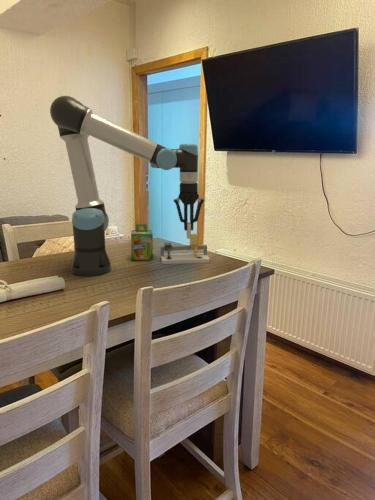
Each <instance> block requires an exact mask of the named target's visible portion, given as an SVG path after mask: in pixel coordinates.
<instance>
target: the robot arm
mask: <svg viewBox="0 0 375 500" xmlns="http://www.w3.org/2000/svg"><path fill="white" fill-rule="evenodd" d="M49 114H50V118H51V120H52V122H53V123H54V125H56V126H57V129H58V135H59V138H60V139H61V140H62V141H64V142H65V146H66V151H67V157H68V161H69V166H70V170H71V175H72V181H73V185H74V190H75V194H76V198H77V203H76V205H75V206H74V207H75V210H74V212H73V213H72V216H71V223H72V233H73V234H72V235H73V246H74V253H73V258H72V260H71V261H72V262H71V265H70V272H71V273H72V274H73V275H76V276H81V277H92V276H99V275H103V274H106V273H109V272H110V271H111V270H112V263H111V260H110V259H109V255H108V253H107V249H106V230H107V229H108V226H109V215H108V213H107V211H106V207H105V202H104V201H103V200H102V199H100V196H99V191H98V186H97V180H96V176H95V171H94V165H93V160H92V155H91V151H90V144H89V141H88V139H89V136H90V137H93V138H95V139H97V140H99V141H101V142H104V143H106V144H109V145H111V146H112V147H115V148H116V149H119V150H121V151H124V152H125V153H128V154H130V155H132V156H134V157H137V158H138V159H141V160H143V161H145V162H147V163H149V164H150V167H151V168H153V169H162V170H163V171H169V170H172V169H173V168H174V169H175V168H176V169H178V168H179V182H180V183H179V194H178V197H176V198H174V199H173V202H174V204H175V206H176V209H177V214H178V218H179V221H180V223H183V227H184V228H183V229H184V231H185V232H186V238H187V239H189V240H190V239H191V234H192V231H193V230H194V223H197V222H198V221H199V216H200V213H201V209H202V205H203V203H204V201H205V200H204V199H203V198H201V197H200V195H199V193H198V191H199V184H198V182H199V179H198V178H199V152H198V151H199V147H198V145H197V144H196V143H180V144H179V147H178V148H167V147H165V146H163V145H161V144H158V143H157V142H155V141H153V140H151V139H148V138H147V137H144V136H142V135H140V134H139V133H136V132H134V131H132V130H131V129H130V130H129V129H127V128H126V127H124V126H121V125H119V124H117V123H115V122H113V121H111V120H108V119H106V118H104V117H102V116H100V115H98V114H96V113H94V112H93V110H92V108H91V107H88V106H86V105H84V104H83V103H82V102H80V101H79V100H77V99H76V98H74V97H73V96H70V95H69V96H68V95H61V96H59V97H56V98H55V99H54V100H53V101H52V102H51V105H50V108H49ZM180 202H181V203H182V204H183V213H182V210H181V206H180ZM196 202H197V206H196V209H195V210H196V211H195V213H194V208H195V206H194V205H195V203H196ZM188 207H189V219H188ZM194 214H195V215H194ZM188 220H189V222H188Z"/></svg>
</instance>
